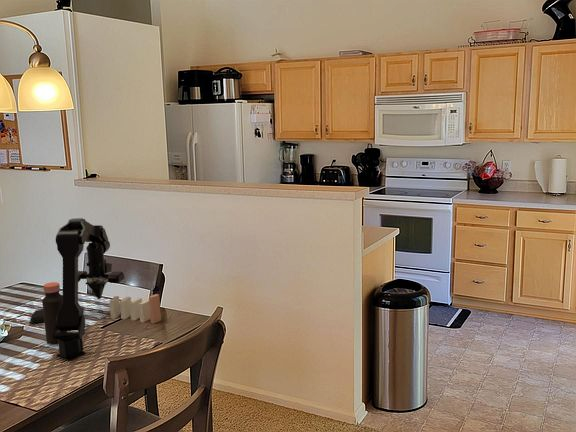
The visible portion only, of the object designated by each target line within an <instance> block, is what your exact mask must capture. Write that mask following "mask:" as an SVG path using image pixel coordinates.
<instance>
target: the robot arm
mask: <svg viewBox="0 0 576 432" xmlns="http://www.w3.org/2000/svg"><path fill="white" fill-rule="evenodd" d="M85 243H88V245H87V246H86V247H85V248H86V253H87V255H86V256H87V262H86V266H87V268H88V271H86V270H79V258H80V255H81V254H82V253H83V251H84V246H85ZM55 244H56V249H57V251H58V253H59V254H60V255H61V258H62V296H63V303H62V305H61V307H60V308H59V310H58V312H57V317H56V320H55V323H54V330H53V339H54V340H58V343H59V344H58V352H59V354H56V357H57V358H60V359H62V360H66V361H69V362H70V361H72V360H74V359H78V357H81V356H83V355H86V352H87V351H85V350H84V342H83V337H84V336H85V335H86V318H85V309H84V307H83V306H82V305H80V303H79V282H80V281H81V280H86V282H85V285H87V286H88V287H89V289H90V290H91V291H92V292H93V294H94V295H95V297H96V299H97V300H101V299H102V296H103V294H104V293H103V292H104V289H105V286H106V284H107V283H109V284H118V283H120V282H121V281H123V280H124V279H125V273H124V272H123V271H112V267H113V263H109V262H108V263H107V259H105V256H104V254H105V253H106V252H108V250H109V249H110V248H111V243H110V241H109V237H108V235H107V232H106V229H105V228H104V226H103V225H98V224H97V225H93V224H92V223H90V222H89V221H86V219H85V218H83V217H82V218H81V217H80V218H71V219H68V221H67V223H65V224H63V226H61V227H59V228H58V231H57V233H56V235H55ZM61 331H67V332H66V333H61Z"/></svg>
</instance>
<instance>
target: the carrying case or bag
mask: <svg viewBox="0 0 576 432" xmlns="http://www.w3.org/2000/svg"><path fill="white" fill-rule="evenodd" d="M29 319H30V320H29V322H30V323H32V324H34V325H37V324H45V323H44V314H43V308H42V309H36V310H34V312H33V313H32V314H31V317H30V318H29Z"/></svg>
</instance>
